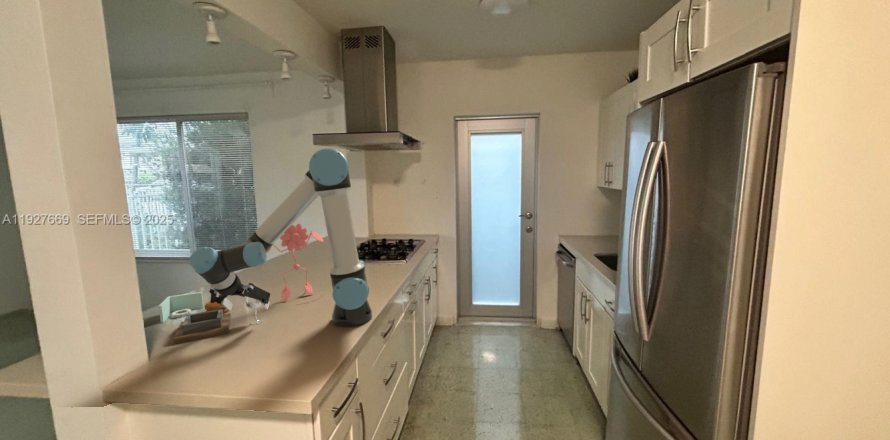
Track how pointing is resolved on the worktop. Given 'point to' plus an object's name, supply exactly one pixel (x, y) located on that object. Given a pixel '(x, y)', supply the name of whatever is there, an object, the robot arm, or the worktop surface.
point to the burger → (215, 307)
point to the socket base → (203, 326)
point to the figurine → (296, 240)
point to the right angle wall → (180, 305)
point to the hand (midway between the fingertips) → (249, 306)
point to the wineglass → (253, 304)
